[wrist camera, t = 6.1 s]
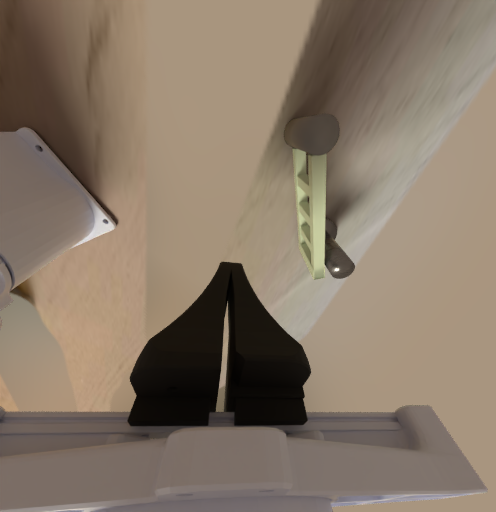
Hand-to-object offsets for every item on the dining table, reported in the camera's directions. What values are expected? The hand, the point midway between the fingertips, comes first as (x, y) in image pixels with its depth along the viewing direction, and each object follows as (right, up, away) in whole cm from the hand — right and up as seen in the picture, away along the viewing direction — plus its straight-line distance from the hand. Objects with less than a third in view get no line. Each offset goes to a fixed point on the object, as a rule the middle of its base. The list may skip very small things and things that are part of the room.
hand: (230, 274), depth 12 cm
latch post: (+9, +4, +9) cm, 13 cm away
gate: (+6, +7, +6) cm, 11 cm away
